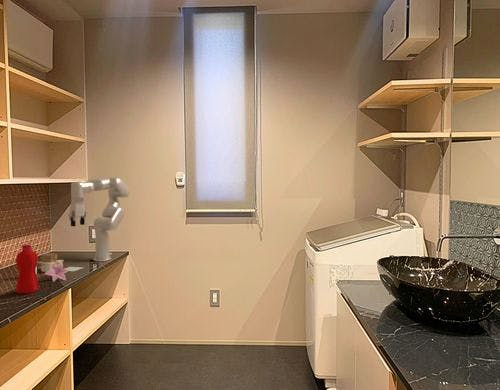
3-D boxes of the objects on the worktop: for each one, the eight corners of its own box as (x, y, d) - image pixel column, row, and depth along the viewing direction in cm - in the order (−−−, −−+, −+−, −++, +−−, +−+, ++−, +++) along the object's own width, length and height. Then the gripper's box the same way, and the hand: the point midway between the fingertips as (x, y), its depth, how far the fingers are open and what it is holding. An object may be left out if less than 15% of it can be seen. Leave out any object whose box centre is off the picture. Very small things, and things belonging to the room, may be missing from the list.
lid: (48, 260, 264) (48, 252, 264) (63, 261, 261) (63, 253, 261) (34, 264, 252) (34, 255, 252) (50, 264, 249) (50, 256, 249)
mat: (69, 268, 267) (69, 266, 267) (84, 269, 265) (84, 267, 265) (58, 271, 256) (58, 270, 256) (73, 272, 254) (73, 271, 254)
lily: (41, 283, 232) (44, 270, 228) (48, 271, 242) (51, 259, 239) (62, 288, 235) (66, 275, 231) (68, 276, 245) (72, 264, 242)
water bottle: (42, 288, 217) (41, 242, 216) (32, 294, 206) (31, 246, 205) (25, 288, 217) (24, 243, 216) (13, 294, 206) (12, 246, 205)
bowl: (48, 269, 262) (48, 260, 262) (60, 270, 260) (60, 261, 260) (38, 273, 253) (38, 263, 253) (50, 273, 251) (50, 264, 251)
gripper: (80, 199, 280) (81, 224, 280) (64, 201, 263) (64, 226, 263) (90, 199, 278) (90, 224, 279) (73, 201, 261) (74, 227, 262)
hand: (77, 225), depth 271 cm, fingers open, 9 cm apart
